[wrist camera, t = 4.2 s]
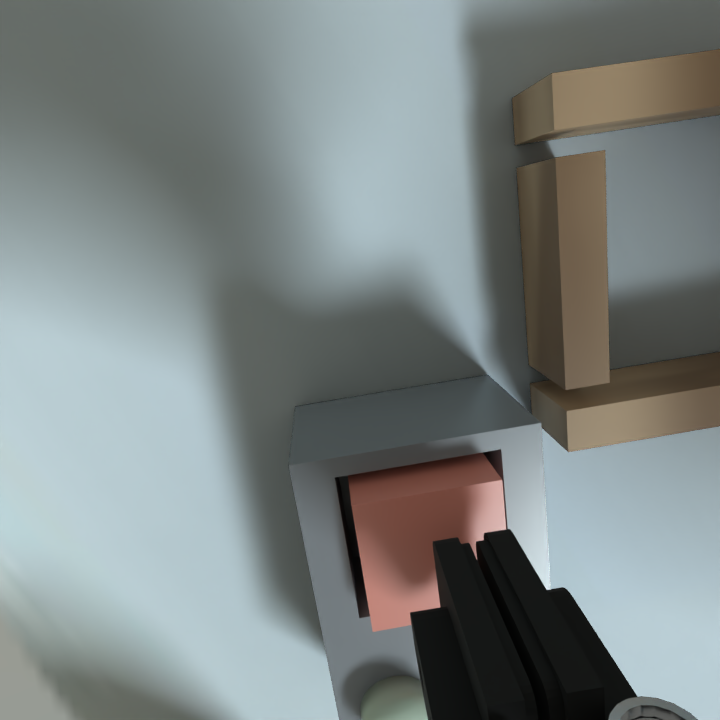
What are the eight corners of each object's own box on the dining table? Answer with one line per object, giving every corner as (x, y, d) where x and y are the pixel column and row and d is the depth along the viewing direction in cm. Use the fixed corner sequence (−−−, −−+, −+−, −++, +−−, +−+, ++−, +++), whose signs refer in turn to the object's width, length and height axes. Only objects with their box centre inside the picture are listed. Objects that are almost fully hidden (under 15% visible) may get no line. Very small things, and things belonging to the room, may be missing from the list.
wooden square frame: (841, 50, 15) (945, 16, 12) (813, 371, 17) (895, 396, 15) (511, 97, 14) (552, 73, 12) (532, 418, 17) (568, 452, 14)
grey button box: (487, 374, 16) (556, 436, 12) (510, 638, 19) (572, 774, 14) (295, 406, 16) (286, 482, 11) (345, 668, 19) (354, 816, 14)
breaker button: (463, 425, 15) (502, 479, 12) (473, 530, 16) (512, 606, 13) (344, 445, 15) (351, 505, 12) (361, 550, 16) (372, 631, 12)
